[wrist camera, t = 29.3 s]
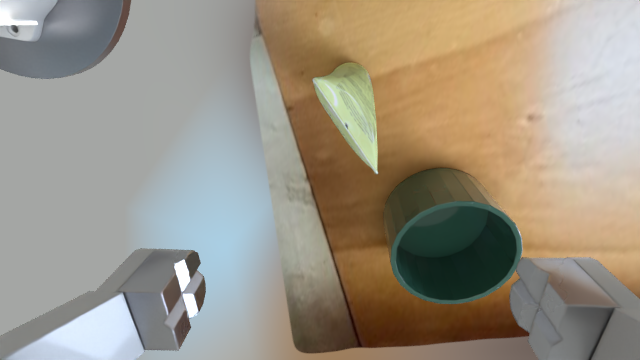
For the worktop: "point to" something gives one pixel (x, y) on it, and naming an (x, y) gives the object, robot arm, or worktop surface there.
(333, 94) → the tube
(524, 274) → the robot arm
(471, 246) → the vessel
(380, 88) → the worktop surface
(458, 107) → the worktop surface
